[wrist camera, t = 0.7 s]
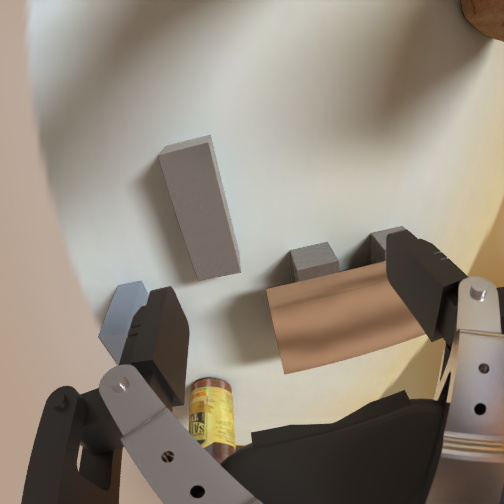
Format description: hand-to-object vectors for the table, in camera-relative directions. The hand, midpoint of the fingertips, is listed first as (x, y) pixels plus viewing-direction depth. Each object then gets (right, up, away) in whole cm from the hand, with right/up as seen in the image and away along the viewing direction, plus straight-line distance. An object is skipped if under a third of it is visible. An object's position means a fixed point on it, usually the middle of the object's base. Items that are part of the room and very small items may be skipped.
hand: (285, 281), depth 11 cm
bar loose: (-6, +6, +17) cm, 19 cm away
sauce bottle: (-7, -19, +32) cm, 38 cm away
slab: (+10, -5, +21) cm, 23 cm away
